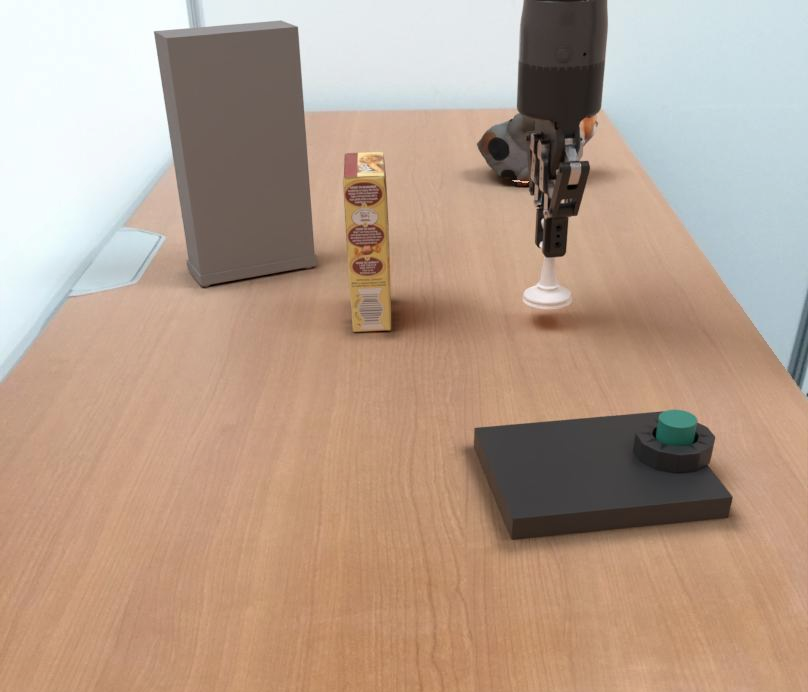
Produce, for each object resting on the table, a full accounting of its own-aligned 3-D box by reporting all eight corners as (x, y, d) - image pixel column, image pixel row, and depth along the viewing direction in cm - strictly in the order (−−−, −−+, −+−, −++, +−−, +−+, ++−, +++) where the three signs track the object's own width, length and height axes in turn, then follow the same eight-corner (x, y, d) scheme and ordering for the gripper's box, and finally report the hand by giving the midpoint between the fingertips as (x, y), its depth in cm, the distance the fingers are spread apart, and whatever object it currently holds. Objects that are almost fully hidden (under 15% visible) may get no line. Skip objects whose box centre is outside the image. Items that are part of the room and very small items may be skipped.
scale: (672, 430, 79) (679, 392, 77) (739, 517, 69) (749, 476, 67) (473, 448, 77) (474, 409, 75) (511, 540, 67) (514, 499, 65)
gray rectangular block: (299, 251, 116) (279, 19, 101) (317, 267, 111) (299, 26, 97) (187, 271, 111) (150, 30, 97) (201, 288, 107) (165, 38, 92)
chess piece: (544, 287, 99) (550, 188, 93) (581, 299, 96) (590, 198, 90) (512, 300, 96) (516, 199, 91) (549, 313, 93) (556, 210, 88)
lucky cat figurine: (540, 158, 148) (590, 75, 138) (573, 208, 143) (626, 126, 133) (462, 141, 140) (508, 52, 131) (492, 194, 135) (543, 105, 125)
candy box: (392, 332, 96) (388, 175, 87) (350, 333, 96) (342, 176, 87) (389, 298, 103) (385, 150, 94) (350, 300, 103) (342, 151, 94)
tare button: (685, 428, 73) (688, 407, 72) (699, 446, 71) (703, 425, 70) (650, 431, 73) (653, 411, 72) (663, 449, 71) (667, 429, 70)
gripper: (629, 66, 78) (609, 273, 88) (580, 40, 89) (567, 226, 99) (540, 72, 77) (530, 279, 87) (501, 44, 88) (496, 231, 99)
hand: (549, 250), depth 93 cm, fingers closed on chess piece
